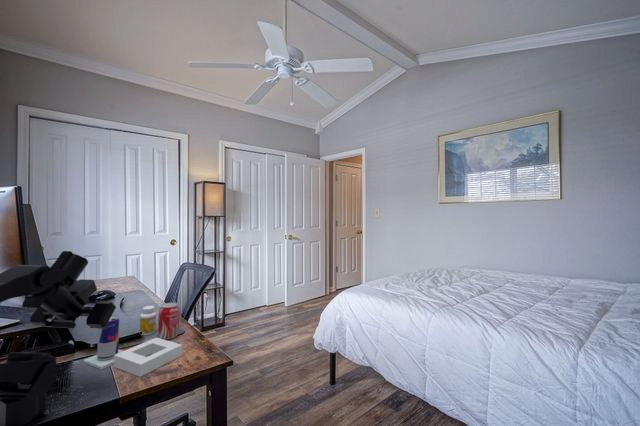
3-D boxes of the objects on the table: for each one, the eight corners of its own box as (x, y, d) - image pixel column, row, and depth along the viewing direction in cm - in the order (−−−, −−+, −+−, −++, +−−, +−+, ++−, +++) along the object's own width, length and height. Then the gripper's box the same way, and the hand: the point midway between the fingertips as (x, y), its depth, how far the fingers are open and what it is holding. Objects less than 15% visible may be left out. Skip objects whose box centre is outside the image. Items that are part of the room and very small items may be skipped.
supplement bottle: (136, 333, 112) (137, 308, 112) (150, 328, 116) (151, 304, 116) (145, 336, 109) (145, 310, 109) (158, 331, 114) (159, 306, 114)
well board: (140, 376, 83) (140, 364, 83) (113, 366, 88) (114, 355, 88) (181, 355, 96) (181, 344, 96) (156, 347, 101) (156, 337, 101)
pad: (101, 369, 86) (101, 366, 86) (83, 362, 90) (83, 359, 90) (131, 356, 94) (131, 353, 94) (114, 350, 98) (114, 347, 98)
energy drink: (113, 360, 90) (114, 321, 90) (93, 361, 89) (94, 322, 89) (121, 352, 95) (122, 315, 95) (102, 353, 94) (103, 316, 94)
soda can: (158, 334, 111) (159, 302, 111) (179, 331, 114) (179, 301, 114) (156, 342, 105) (157, 308, 105) (178, 339, 108) (179, 306, 108)
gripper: (112, 273, 78) (136, 301, 89) (41, 270, 78) (75, 300, 89) (88, 312, 70) (118, 338, 81) (9, 310, 70) (50, 337, 81)
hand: (90, 327), depth 83 cm, fingers open, 9 cm apart
